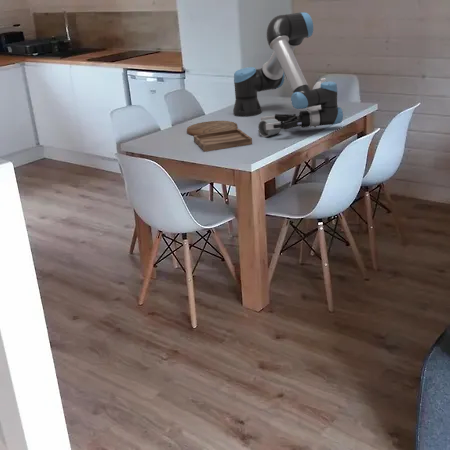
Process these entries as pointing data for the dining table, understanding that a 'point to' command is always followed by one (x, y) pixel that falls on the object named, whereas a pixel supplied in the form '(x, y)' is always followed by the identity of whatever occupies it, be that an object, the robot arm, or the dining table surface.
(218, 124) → the trivet
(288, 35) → the robot arm
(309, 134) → the dining table surface
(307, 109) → the honey pot
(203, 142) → the walnut tray
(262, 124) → the ceramic mug
